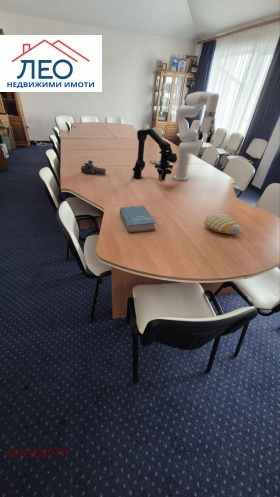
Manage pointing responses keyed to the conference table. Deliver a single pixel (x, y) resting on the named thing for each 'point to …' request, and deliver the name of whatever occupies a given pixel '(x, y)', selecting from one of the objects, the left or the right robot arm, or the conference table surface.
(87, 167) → the laser sight
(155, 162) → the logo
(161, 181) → the grey metal block
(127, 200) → the conference table surface
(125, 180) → the conference table surface
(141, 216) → the book
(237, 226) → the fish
